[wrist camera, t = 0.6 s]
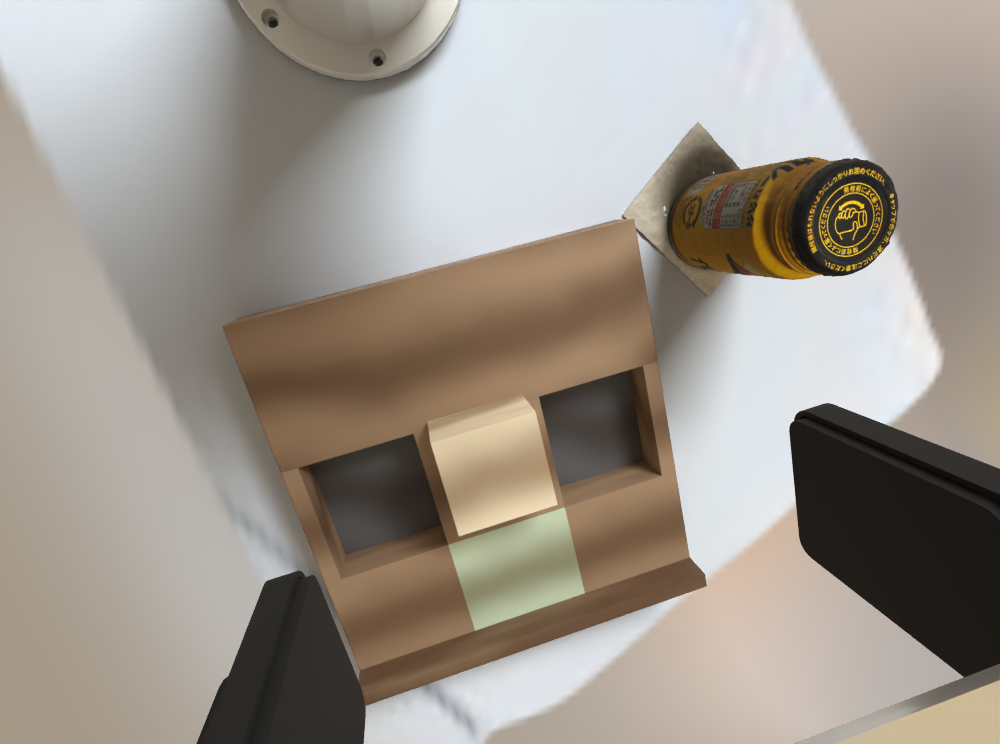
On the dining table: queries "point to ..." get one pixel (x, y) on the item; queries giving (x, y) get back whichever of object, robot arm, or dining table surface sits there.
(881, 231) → the condiment
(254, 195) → the dining table surface
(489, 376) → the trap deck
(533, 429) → the maple block
